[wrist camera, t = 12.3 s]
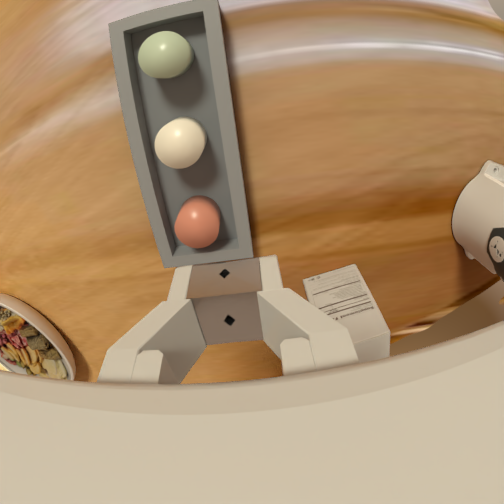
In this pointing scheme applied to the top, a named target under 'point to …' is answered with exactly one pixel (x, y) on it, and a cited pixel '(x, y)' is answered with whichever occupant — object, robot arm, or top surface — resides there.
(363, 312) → the supplement box
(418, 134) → the top surface
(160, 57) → the sage button
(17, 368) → the bowl
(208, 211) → the brick button
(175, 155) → the cream round piece
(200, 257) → the grey rectangular tray
